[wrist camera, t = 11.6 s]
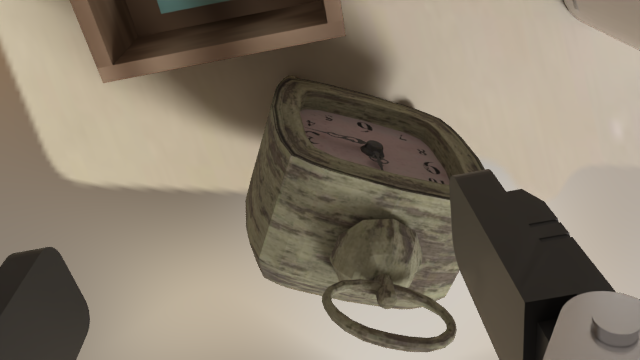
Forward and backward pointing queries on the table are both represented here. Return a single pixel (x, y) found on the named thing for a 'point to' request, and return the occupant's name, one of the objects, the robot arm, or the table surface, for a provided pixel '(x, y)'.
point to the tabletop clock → (357, 204)
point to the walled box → (197, 31)
